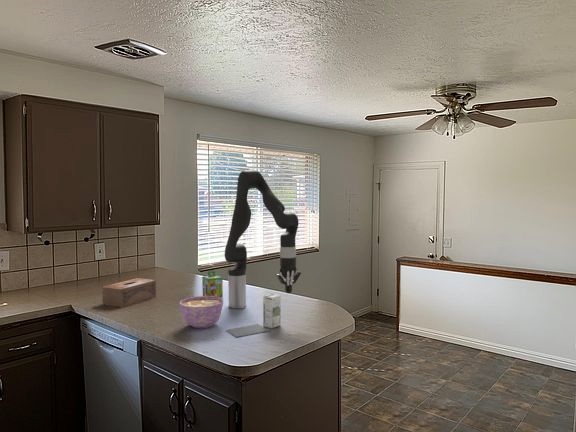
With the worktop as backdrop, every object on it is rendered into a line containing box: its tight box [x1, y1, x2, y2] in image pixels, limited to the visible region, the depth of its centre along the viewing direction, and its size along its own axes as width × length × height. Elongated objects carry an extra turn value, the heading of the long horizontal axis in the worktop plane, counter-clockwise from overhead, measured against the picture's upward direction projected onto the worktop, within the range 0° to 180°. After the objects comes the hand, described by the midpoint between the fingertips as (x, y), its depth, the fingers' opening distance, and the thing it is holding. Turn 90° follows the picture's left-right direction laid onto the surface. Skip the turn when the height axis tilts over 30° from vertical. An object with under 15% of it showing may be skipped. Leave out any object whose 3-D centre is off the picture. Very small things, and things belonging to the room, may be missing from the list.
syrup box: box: [262, 293, 282, 329], centre depth 208 cm, size 6×6×14 cm
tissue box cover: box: [101, 277, 157, 308], centre depth 258 cm, size 26×14×10 cm, turn 153°
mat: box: [225, 323, 270, 338], centre depth 202 cm, size 11×16×1 cm
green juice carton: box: [201, 270, 224, 298], centre depth 265 cm, size 9×9×15 cm
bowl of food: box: [179, 295, 224, 330], centre depth 210 cm, size 20×20×12 cm
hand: (288, 292), depth 212 cm, fingers closed
